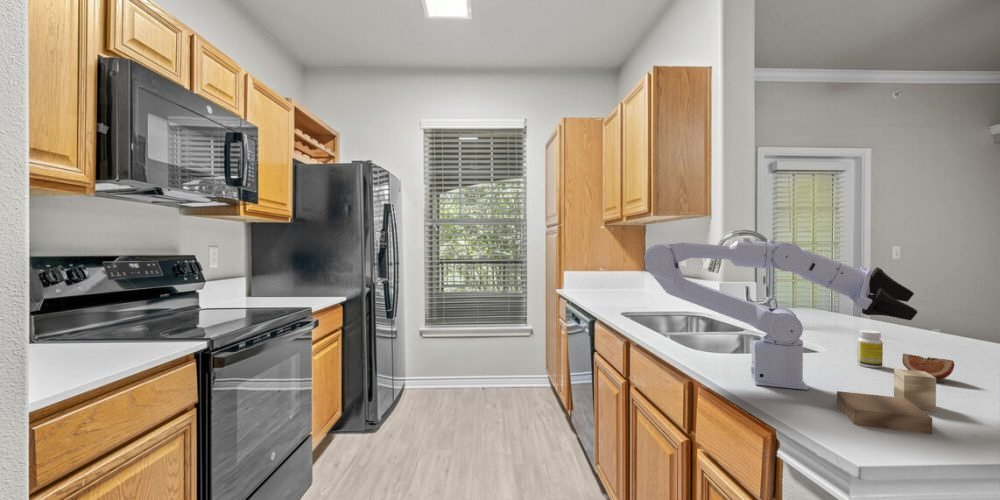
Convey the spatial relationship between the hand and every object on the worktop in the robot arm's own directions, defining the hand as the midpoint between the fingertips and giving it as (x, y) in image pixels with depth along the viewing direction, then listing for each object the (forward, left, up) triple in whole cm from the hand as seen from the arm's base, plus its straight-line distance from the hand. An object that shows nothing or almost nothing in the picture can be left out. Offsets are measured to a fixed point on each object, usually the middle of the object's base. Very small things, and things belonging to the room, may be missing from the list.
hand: (912, 306), depth 87 cm
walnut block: (-9, -14, -18) cm, 25 cm away
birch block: (-1, -4, -18) cm, 18 cm away
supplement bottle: (+1, +26, -18) cm, 32 cm away
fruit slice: (+9, +18, -18) cm, 27 cm away
